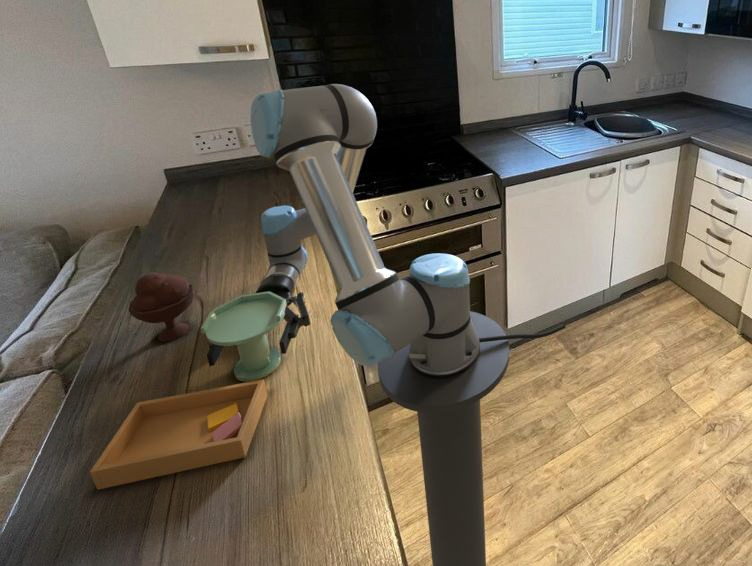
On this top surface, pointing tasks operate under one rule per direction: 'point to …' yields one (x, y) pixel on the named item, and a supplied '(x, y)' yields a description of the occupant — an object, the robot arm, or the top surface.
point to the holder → (178, 435)
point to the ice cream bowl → (162, 302)
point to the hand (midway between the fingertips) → (247, 354)
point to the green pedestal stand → (248, 332)
